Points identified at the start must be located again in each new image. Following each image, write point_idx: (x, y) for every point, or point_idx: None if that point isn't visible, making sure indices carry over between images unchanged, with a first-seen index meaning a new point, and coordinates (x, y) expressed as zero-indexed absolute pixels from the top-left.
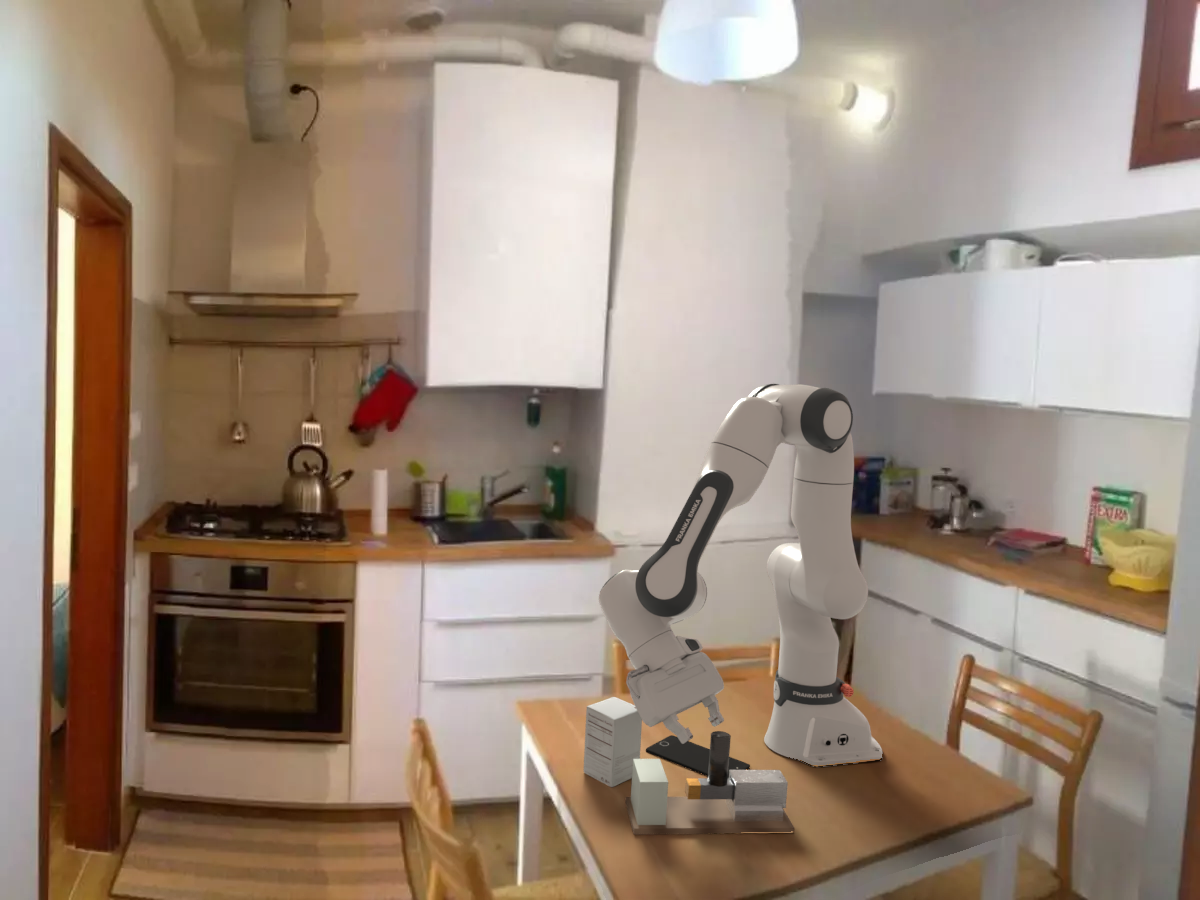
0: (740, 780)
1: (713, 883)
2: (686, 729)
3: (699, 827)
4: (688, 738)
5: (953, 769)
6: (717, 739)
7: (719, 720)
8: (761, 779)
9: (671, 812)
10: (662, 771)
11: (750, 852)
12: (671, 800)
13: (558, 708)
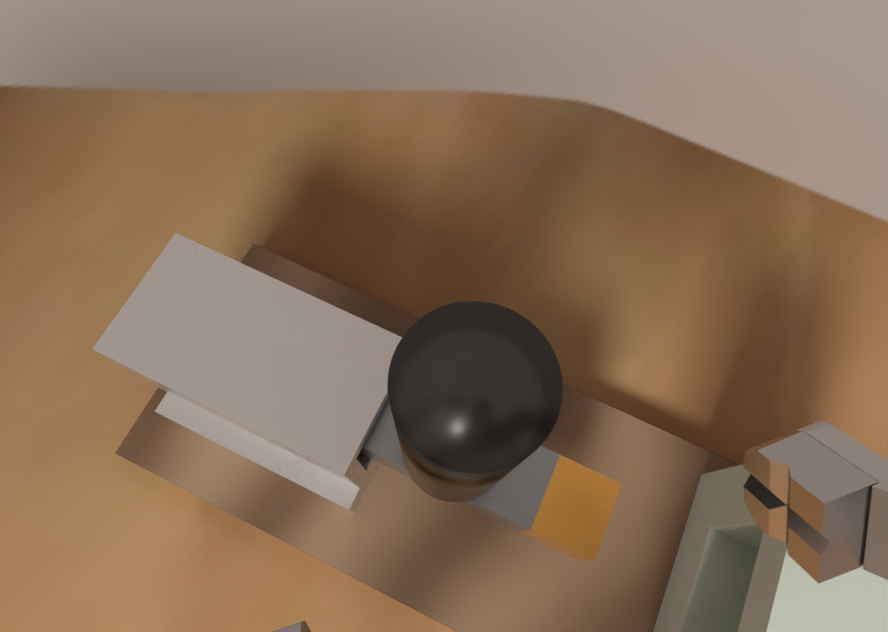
0: (375, 350)
1: (684, 168)
2: (849, 482)
3: (580, 398)
4: (817, 422)
5: None
6: (545, 340)
7: (294, 629)
8: (268, 311)
9: (628, 551)
10: (793, 578)
11: (478, 235)
12: None
13: None
